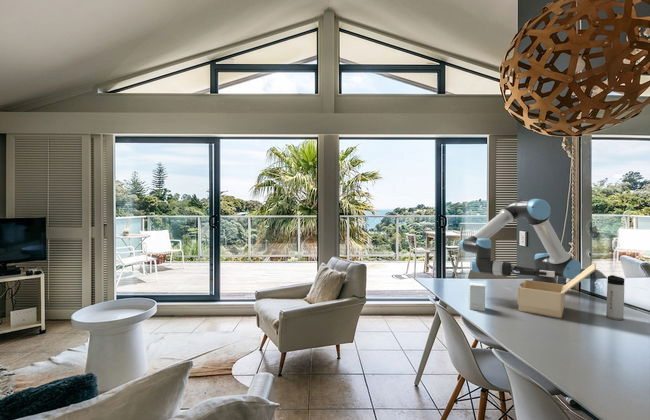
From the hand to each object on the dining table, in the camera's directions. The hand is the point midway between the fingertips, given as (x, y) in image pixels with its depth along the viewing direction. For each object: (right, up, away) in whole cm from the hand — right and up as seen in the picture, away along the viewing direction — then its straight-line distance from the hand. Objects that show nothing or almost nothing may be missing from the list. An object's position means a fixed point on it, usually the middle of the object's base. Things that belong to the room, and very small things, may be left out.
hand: (554, 274), depth 172 cm
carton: (-4, -19, +4) cm, 20 cm away
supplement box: (-37, -19, +5) cm, 42 cm away
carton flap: (+8, 0, -5) cm, 10 cm away
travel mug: (+23, -20, -8) cm, 31 cm away
